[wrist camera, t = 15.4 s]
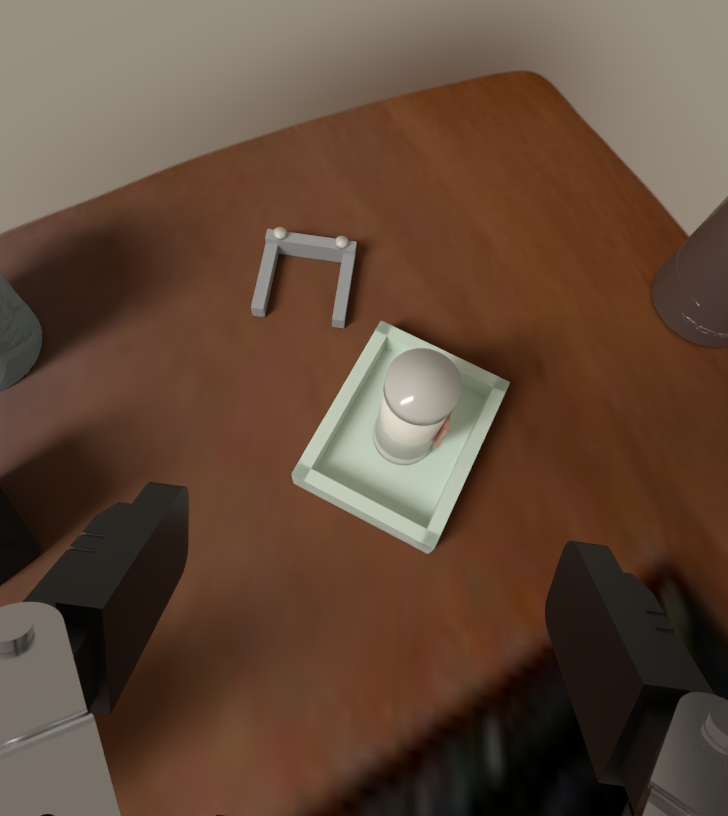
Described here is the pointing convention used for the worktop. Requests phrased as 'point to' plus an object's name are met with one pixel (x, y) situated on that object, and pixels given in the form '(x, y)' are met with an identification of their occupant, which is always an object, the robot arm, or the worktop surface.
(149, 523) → the robot arm
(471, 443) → the tray
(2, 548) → the battery
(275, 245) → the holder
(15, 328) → the teal cup
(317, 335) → the worktop surface
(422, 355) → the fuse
